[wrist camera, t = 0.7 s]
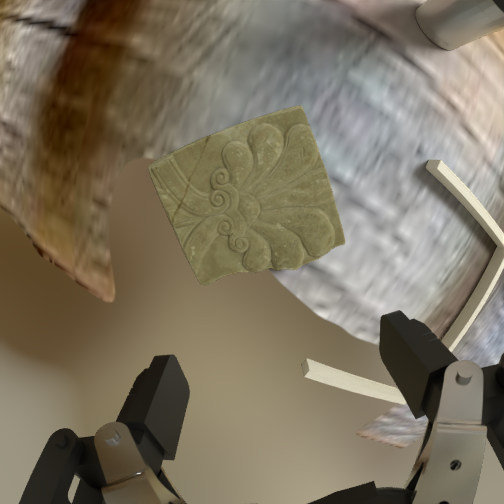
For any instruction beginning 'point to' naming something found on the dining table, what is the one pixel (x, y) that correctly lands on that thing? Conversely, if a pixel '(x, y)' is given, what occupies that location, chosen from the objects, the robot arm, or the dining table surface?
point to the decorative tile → (250, 197)
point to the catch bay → (499, 260)
